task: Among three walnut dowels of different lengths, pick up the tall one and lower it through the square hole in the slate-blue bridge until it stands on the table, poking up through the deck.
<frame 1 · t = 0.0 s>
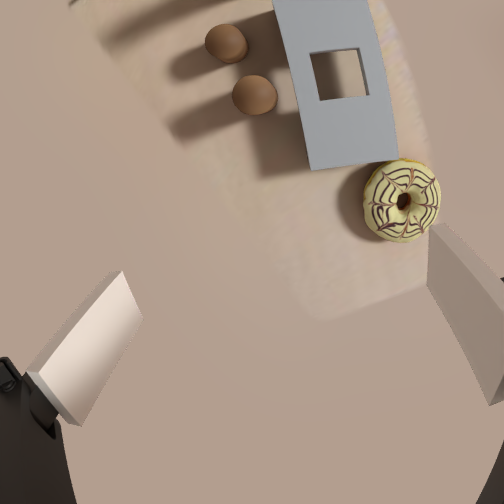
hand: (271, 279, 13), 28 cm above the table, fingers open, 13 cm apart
bridge: (333, 77, 32), on the table
short dowel: (231, 48, 32), on the table
decorated donut: (397, 196, 38), on the table
medium dowel: (261, 97, 35), on the table
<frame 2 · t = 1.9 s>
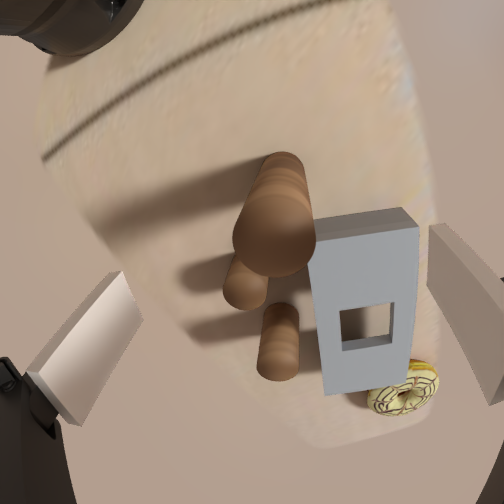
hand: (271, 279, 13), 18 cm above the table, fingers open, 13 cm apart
bridge: (359, 299, 34), on the table
short dowel: (250, 266, 33), on the table
decorated donut: (399, 379, 39), on the table
medium dowel: (281, 316, 36), on the table
long dowel: (282, 173, 28), on the table
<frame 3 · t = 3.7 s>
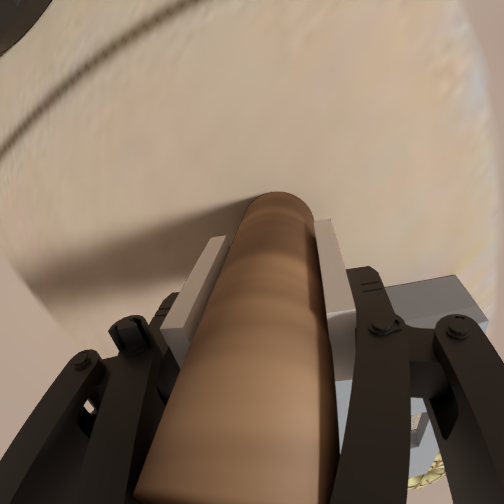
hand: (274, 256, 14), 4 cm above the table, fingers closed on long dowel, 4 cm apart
bridge: (381, 388, 23), on the table
decorated donut: (416, 453, 28), on the table
long dowel: (278, 226, 18), on the table, touching gripper
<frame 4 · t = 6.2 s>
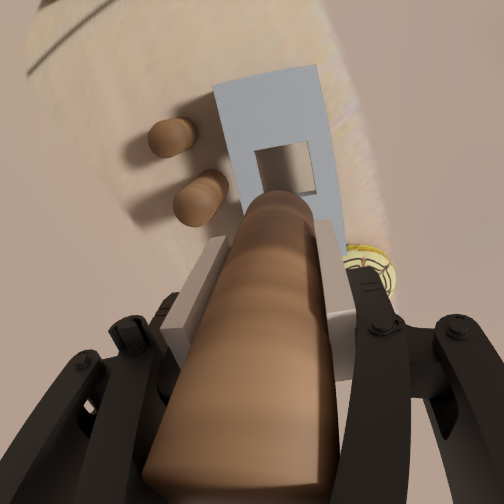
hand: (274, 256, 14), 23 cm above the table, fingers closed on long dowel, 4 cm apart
bridge: (285, 163, 35), on the table
short dowel: (181, 133, 35), on the table
decorated donut: (352, 275, 41), on the table
medium dowel: (212, 186, 37), on the table
long dowel: (278, 223, 18), point 19 cm above the table, touching gripper
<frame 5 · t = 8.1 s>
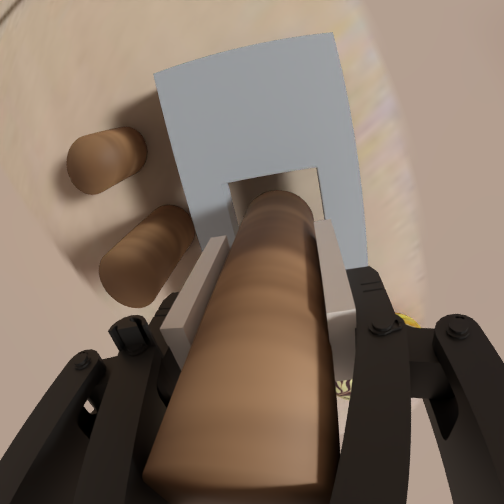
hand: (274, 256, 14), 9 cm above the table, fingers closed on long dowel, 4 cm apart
bridge: (280, 195, 23), on the table
short dowel: (124, 151, 22), on the table
decorated donut: (369, 345, 29), on the table
medium dowel: (171, 228, 25), on the table
long dowel: (278, 224, 18), point 5 cm above the table, touching gripper
when the fingers open (6 cm above the table, at t = 9.0 s): long dowel drops 1 cm, on the table.
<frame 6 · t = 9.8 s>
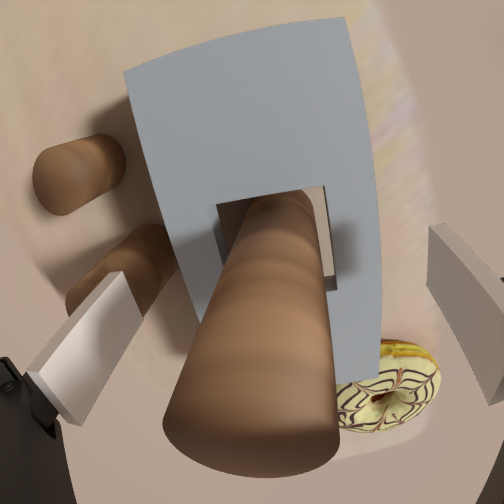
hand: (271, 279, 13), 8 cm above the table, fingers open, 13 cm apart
bridge: (279, 214, 19), on the table
short dowel: (100, 162, 19), on the table
decorated donut: (376, 374, 25), on the table
medium dowel: (154, 250, 22), on the table, touching gripper
long dowel: (281, 214, 19), on the table
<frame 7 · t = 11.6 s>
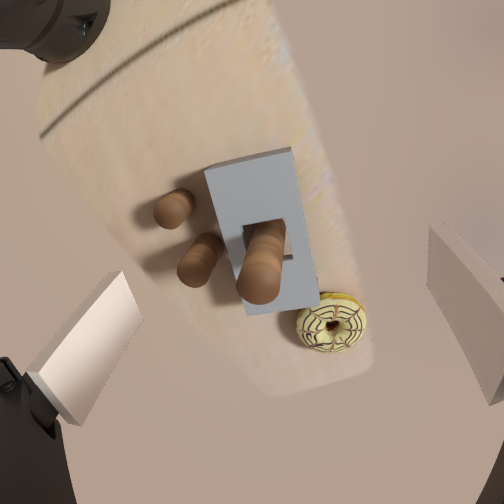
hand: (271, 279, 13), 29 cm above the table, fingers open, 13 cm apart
bridge: (269, 227, 43), on the table
short dowel: (181, 202, 43), on the table
decorated donut: (330, 315, 48), on the table
medium dowel: (209, 246, 45), on the table
long dowel: (270, 227, 43), on the table
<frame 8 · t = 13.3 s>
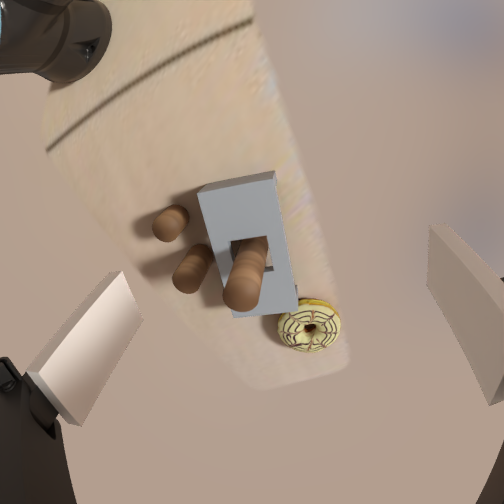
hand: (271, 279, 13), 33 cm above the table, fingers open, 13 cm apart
bridge: (255, 241, 48), on the table
short dowel: (176, 216, 48), on the table
decorated donut: (308, 319, 54), on the table
medium dowel: (201, 255, 50), on the table
long dowel: (255, 241, 48), on the table
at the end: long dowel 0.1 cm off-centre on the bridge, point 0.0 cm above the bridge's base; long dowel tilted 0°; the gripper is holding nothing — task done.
